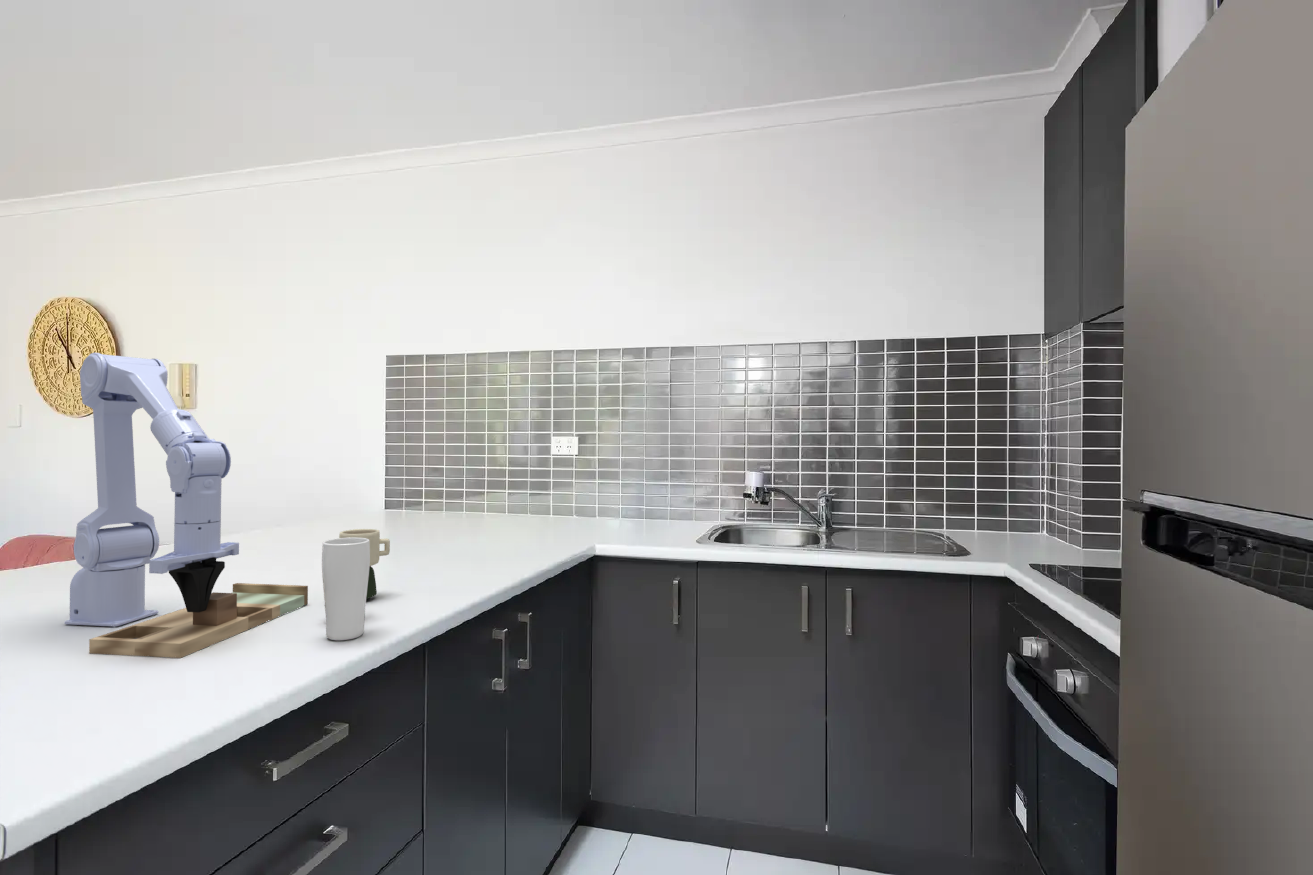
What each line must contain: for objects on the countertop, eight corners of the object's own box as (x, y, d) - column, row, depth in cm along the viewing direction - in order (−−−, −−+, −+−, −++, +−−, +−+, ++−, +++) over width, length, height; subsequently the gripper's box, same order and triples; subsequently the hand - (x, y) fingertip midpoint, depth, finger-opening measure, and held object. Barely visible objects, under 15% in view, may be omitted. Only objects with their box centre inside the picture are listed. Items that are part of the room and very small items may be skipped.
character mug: (384, 591, 127) (385, 526, 127) (393, 599, 121) (394, 531, 121) (324, 599, 121) (325, 531, 121) (330, 607, 115) (331, 536, 115)
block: (192, 624, 98) (193, 598, 98) (213, 617, 102) (213, 592, 102) (216, 625, 97) (216, 599, 97) (236, 618, 101) (236, 593, 101)
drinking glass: (378, 632, 101) (379, 539, 101) (345, 645, 95) (346, 545, 95) (345, 627, 104) (346, 536, 104) (310, 640, 97) (311, 542, 97)
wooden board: (89, 653, 90) (89, 628, 90) (236, 601, 118) (236, 583, 118) (180, 657, 89) (180, 633, 89) (307, 604, 117) (307, 585, 117)
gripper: (182, 529, 88) (181, 626, 88) (257, 516, 103) (255, 599, 103) (135, 527, 89) (134, 624, 89) (216, 514, 103) (215, 597, 104)
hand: (196, 611), depth 96 cm, fingers closed
